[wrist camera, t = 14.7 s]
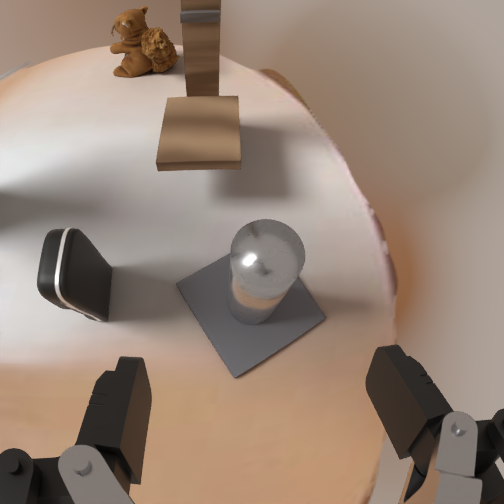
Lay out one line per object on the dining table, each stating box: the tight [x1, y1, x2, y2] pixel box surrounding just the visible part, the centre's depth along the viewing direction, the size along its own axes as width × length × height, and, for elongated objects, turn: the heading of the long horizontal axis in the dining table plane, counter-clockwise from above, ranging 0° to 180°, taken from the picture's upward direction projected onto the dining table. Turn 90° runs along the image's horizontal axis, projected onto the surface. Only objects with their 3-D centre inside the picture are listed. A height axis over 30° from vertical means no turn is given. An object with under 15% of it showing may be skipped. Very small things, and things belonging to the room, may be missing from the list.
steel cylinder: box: [228, 219, 305, 325], centre depth 28 cm, size 5×5×14 cm
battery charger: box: [37, 227, 112, 321], centre depth 28 cm, size 7×4×11 cm, turn 3°
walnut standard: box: [156, 0, 241, 171], centre depth 31 cm, size 16×9×24 cm, turn 3°
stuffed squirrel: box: [110, 6, 180, 77], centre depth 44 cm, size 10×14×13 cm
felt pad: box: [176, 253, 326, 378], centre depth 34 cm, size 12×12×1 cm
